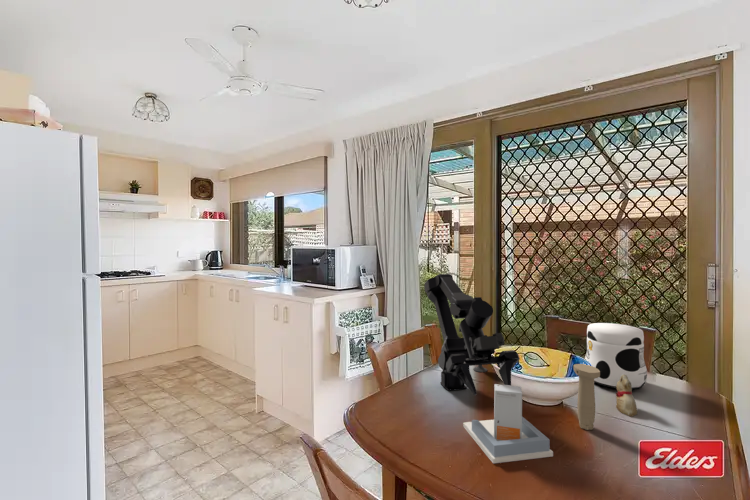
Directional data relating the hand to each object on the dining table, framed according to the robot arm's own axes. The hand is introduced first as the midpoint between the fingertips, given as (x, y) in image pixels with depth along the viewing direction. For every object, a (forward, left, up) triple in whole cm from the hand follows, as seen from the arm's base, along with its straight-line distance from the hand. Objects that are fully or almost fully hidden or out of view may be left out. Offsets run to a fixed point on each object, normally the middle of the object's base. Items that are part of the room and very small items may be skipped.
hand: (492, 393), depth 95 cm
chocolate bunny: (-40, +1, -9) cm, 41 cm away
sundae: (-18, -38, -9) cm, 43 cm away
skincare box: (+1, +7, -8) cm, 11 cm away
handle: (-22, +6, -9) cm, 25 cm away
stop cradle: (0, +6, -9) cm, 11 cm away
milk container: (-53, -15, -9) cm, 56 cm away
